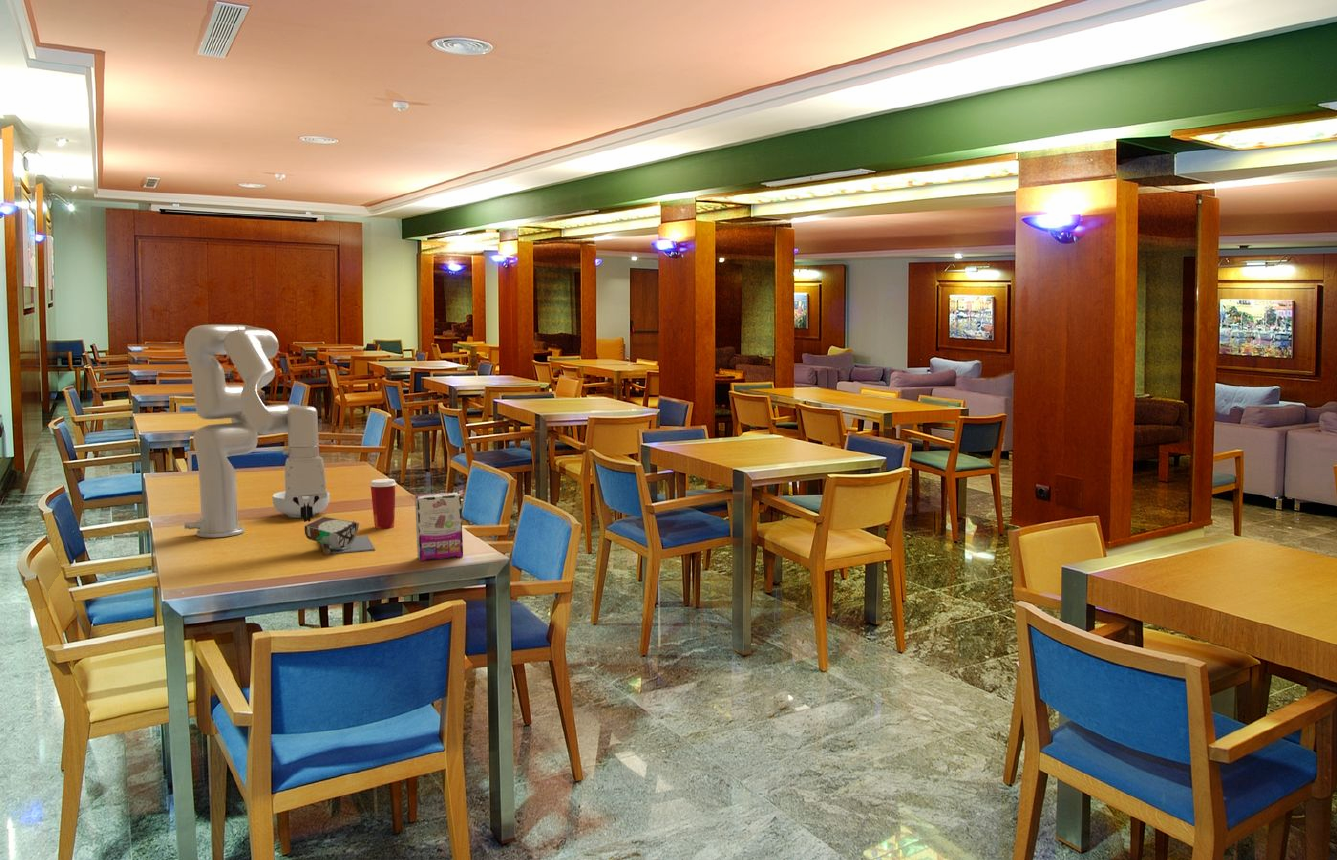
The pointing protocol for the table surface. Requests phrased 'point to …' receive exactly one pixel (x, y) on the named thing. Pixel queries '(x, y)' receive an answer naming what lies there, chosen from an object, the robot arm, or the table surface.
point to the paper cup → (383, 502)
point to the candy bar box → (439, 526)
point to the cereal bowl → (293, 508)
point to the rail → (325, 549)
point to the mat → (356, 546)
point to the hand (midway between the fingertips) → (307, 520)
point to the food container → (332, 532)
